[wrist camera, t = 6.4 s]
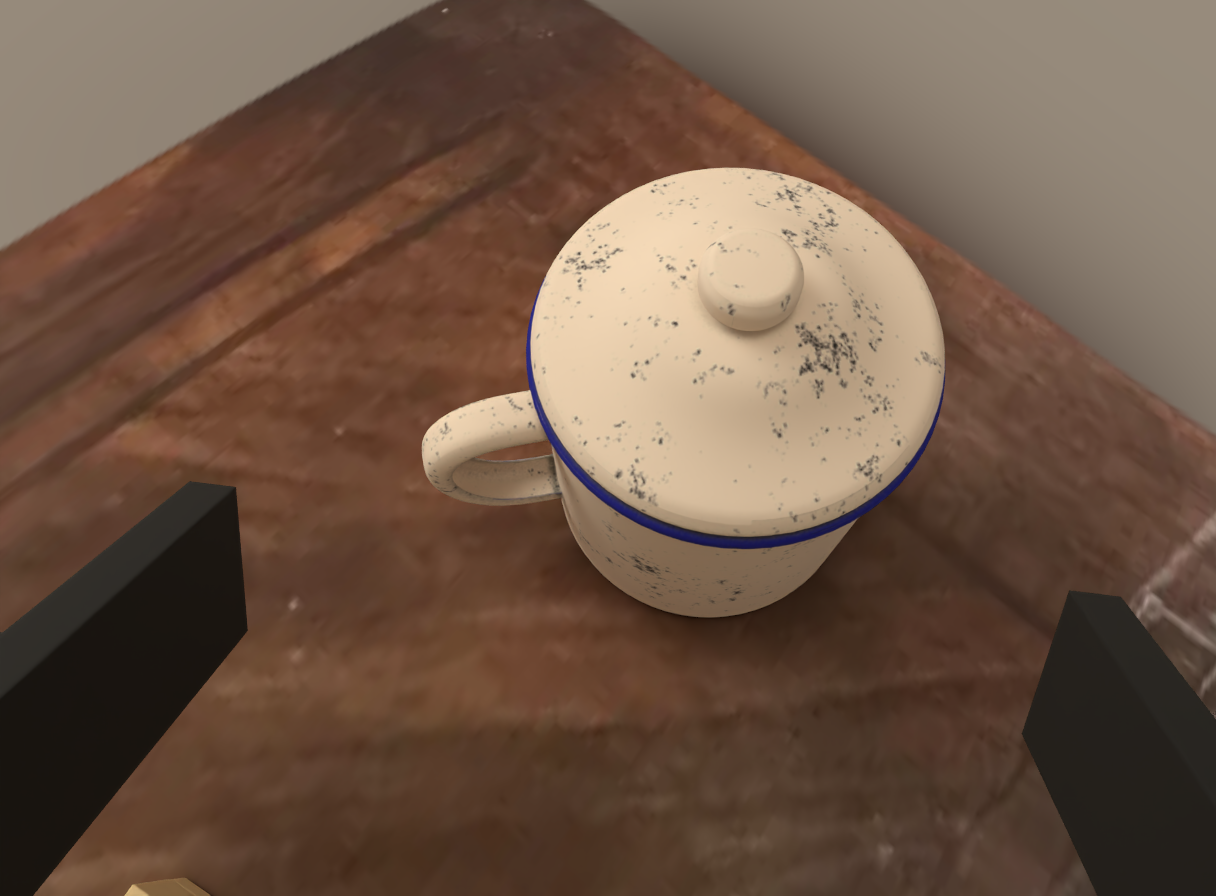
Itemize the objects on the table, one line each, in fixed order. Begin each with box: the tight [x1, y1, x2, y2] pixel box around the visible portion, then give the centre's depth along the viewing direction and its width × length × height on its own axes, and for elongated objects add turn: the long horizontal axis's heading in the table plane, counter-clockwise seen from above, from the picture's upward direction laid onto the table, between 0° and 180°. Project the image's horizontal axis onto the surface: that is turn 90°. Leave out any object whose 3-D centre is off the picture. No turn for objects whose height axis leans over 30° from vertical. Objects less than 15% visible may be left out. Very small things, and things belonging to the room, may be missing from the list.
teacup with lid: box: [422, 168, 945, 617], centre depth 22 cm, size 12×9×12 cm
